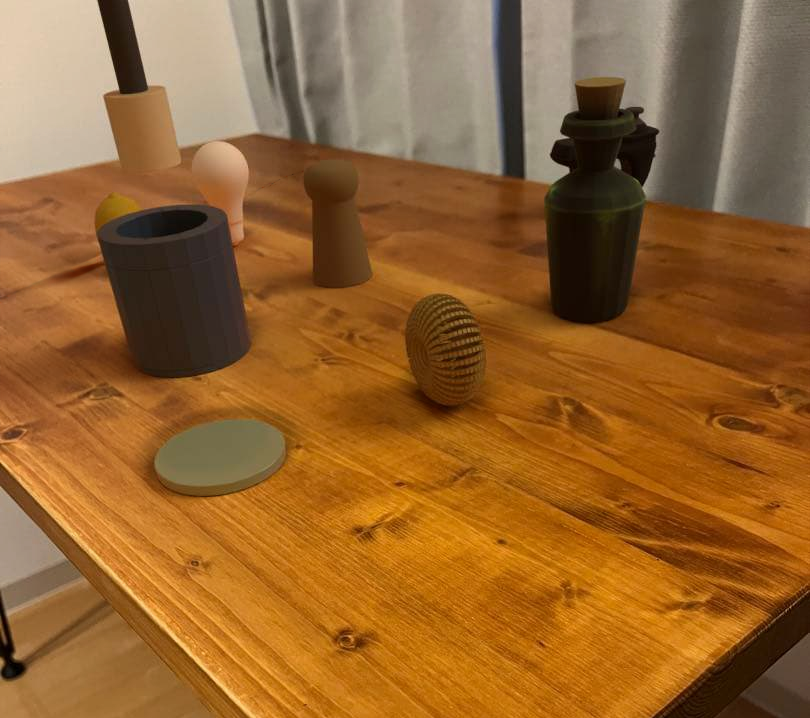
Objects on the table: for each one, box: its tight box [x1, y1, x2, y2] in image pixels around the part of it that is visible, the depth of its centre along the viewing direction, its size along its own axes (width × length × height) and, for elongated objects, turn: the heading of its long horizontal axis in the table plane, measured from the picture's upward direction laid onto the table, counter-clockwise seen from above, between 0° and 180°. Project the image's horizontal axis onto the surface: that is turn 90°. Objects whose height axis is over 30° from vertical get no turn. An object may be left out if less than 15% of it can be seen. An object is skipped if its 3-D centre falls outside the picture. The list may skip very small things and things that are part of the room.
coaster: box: [153, 418, 288, 497], centre depth 60 cm, size 9×9×1 cm
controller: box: [549, 106, 660, 188], centre depth 97 cm, size 4×12×10 cm, turn 110°
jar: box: [96, 203, 252, 378], centre depth 73 cm, size 10×10×11 cm
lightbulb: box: [190, 140, 250, 247], centre depth 96 cm, size 6×6×11 cm
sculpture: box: [404, 292, 487, 407], centre depth 63 cm, size 8×4×8 cm, turn 24°
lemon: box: [94, 191, 142, 243], centre depth 93 cm, size 6×6×8 cm
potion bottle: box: [543, 76, 647, 323], centre depth 72 cm, size 8×8×18 cm
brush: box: [96, 0, 182, 174], centre depth 60 cm, size 4×4×17 cm
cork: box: [302, 158, 373, 289], centre depth 85 cm, size 6×6×11 cm
